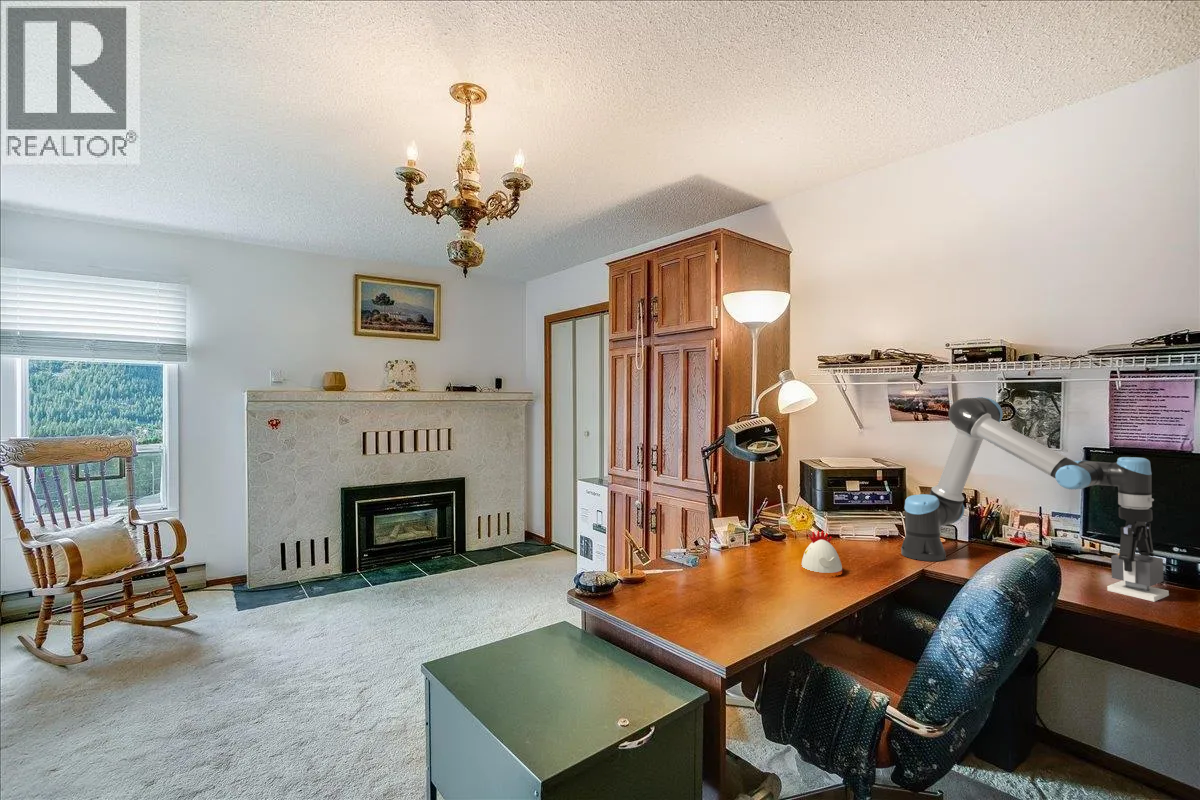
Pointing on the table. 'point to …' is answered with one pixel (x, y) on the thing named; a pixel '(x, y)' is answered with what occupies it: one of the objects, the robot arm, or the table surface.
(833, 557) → the kitchen timer
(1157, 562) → the gray slotted block
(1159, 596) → the shaft stand
